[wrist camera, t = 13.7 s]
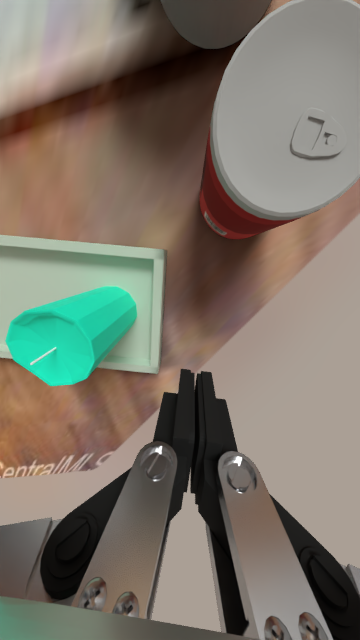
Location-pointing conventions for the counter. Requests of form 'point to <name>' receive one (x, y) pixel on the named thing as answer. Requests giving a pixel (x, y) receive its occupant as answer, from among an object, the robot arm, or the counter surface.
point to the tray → (87, 289)
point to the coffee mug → (214, 20)
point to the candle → (71, 334)
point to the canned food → (285, 120)
